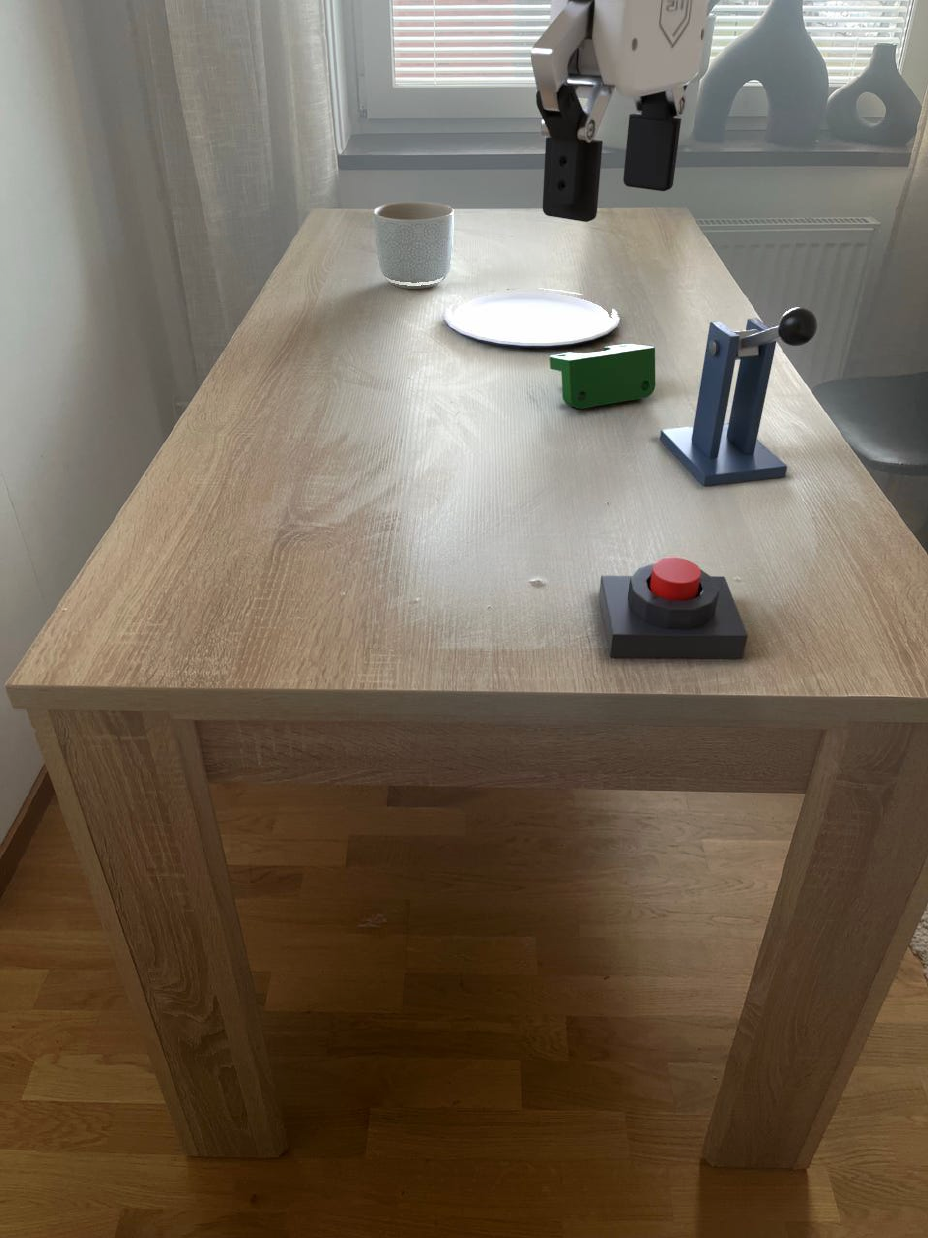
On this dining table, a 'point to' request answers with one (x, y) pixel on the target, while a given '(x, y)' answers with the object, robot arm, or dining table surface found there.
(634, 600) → the button box
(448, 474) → the dining table surface
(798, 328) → the lever
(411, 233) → the planter
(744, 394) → the bracket
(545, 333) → the plate
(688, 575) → the button
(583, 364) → the green mounting block
